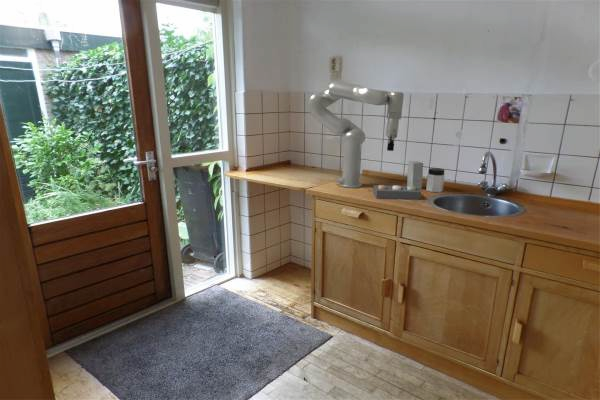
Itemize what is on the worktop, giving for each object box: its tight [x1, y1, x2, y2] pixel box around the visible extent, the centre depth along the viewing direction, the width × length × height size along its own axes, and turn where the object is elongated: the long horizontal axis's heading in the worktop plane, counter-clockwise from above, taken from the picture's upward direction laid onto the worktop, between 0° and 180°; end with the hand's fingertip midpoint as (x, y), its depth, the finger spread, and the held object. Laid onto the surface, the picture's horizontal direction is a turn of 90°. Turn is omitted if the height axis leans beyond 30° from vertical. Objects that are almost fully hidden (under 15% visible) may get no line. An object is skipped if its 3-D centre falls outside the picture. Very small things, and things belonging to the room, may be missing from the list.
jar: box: [425, 167, 445, 193], centre depth 216 cm, size 9×8×12 cm
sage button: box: [406, 185, 416, 190], centre depth 203 cm, size 4×4×4 cm
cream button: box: [392, 184, 402, 190], centre depth 203 cm, size 4×4×4 cm
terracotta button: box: [378, 184, 388, 189], centre depth 203 cm, size 4×4×4 cm
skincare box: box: [406, 160, 424, 190], centre depth 222 cm, size 8×6×15 cm
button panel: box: [373, 184, 422, 201], centre depth 203 cm, size 22×12×4 cm, turn 87°
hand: (390, 150), depth 212 cm, fingers closed
